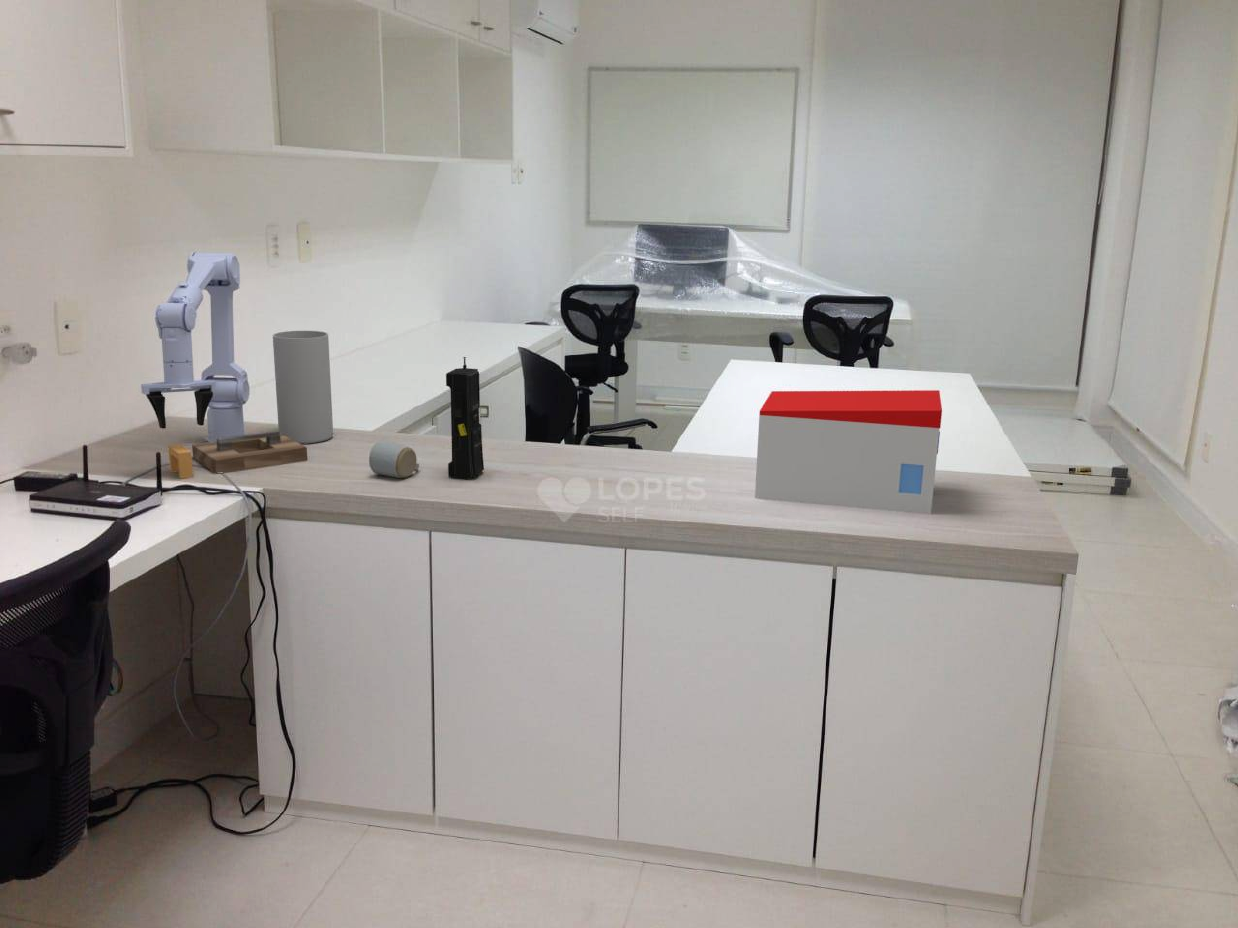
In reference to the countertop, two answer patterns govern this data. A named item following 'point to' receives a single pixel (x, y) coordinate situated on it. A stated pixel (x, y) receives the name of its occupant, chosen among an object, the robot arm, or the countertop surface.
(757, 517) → the countertop surface
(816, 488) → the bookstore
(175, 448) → the orange c-shaped bracket
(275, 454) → the hook board
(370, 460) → the ceramic mug
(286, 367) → the cylinder vase
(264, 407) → the countertop surface
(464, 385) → the portable radio
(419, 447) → the countertop surface
